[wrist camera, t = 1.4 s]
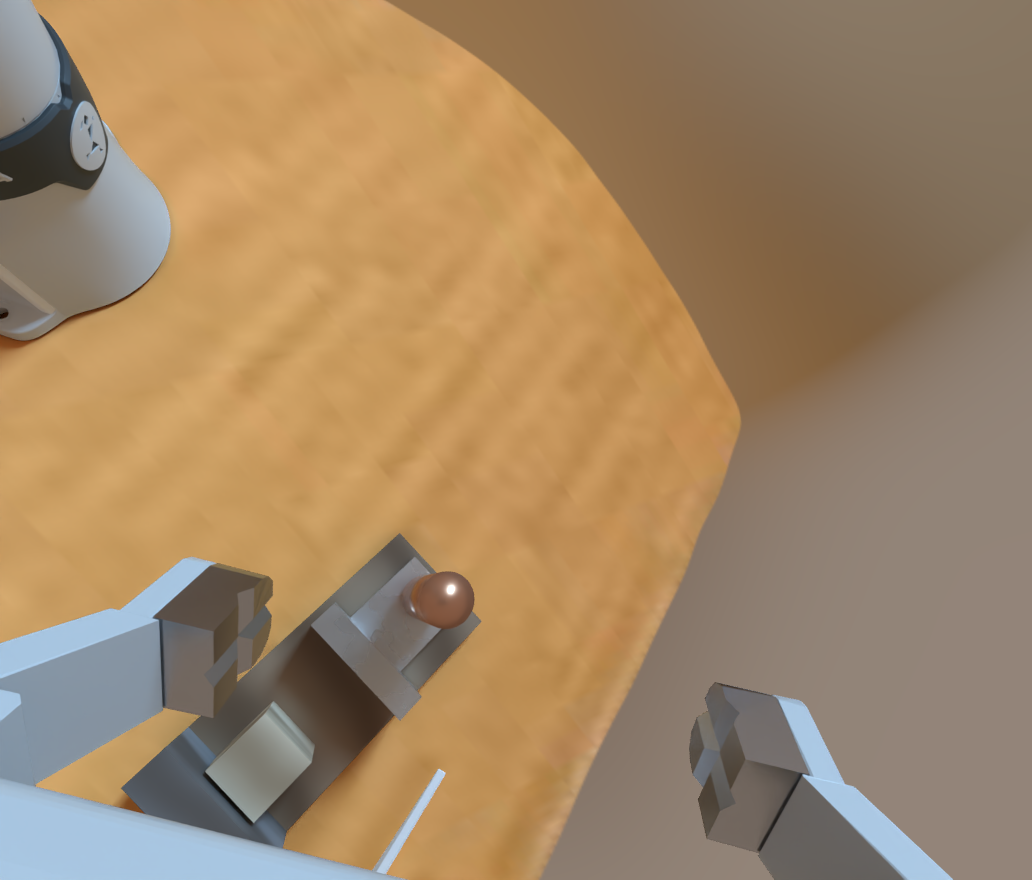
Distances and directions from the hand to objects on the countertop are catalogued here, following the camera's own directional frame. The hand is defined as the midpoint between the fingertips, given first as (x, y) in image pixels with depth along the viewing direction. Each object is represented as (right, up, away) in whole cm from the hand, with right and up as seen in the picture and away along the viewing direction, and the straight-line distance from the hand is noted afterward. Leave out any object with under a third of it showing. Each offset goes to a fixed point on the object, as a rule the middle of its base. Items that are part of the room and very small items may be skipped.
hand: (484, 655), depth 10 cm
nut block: (-15, -16, +26) cm, 34 cm away
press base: (-12, -13, +29) cm, 34 cm away
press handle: (-8, -9, +29) cm, 32 cm away
